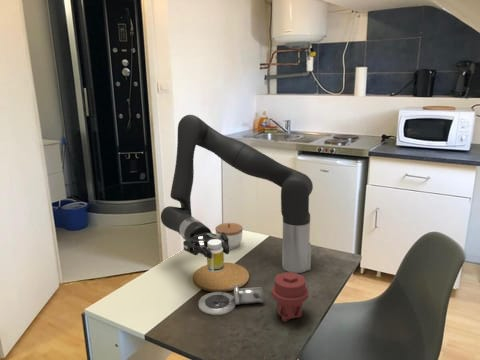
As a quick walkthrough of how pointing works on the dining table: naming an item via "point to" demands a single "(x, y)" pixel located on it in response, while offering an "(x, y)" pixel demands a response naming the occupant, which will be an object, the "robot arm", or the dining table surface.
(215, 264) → the supplement bottle
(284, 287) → the mechanical component
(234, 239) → the lidded jar
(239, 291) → the flange fitting
